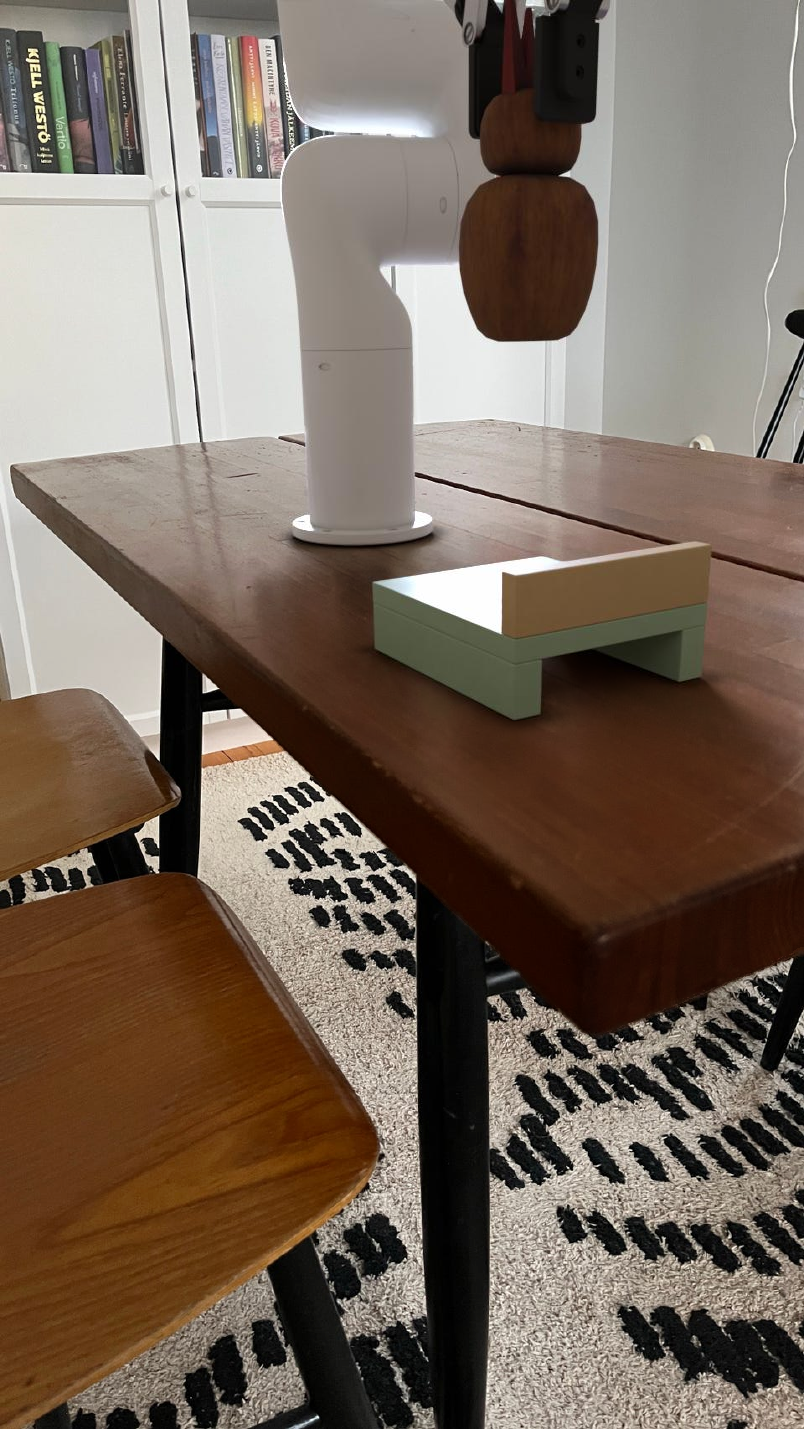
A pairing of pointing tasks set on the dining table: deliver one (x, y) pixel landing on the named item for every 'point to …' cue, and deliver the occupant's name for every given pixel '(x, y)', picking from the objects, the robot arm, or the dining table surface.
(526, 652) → the shelf
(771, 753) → the dining table surface
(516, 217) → the wooden figurine
